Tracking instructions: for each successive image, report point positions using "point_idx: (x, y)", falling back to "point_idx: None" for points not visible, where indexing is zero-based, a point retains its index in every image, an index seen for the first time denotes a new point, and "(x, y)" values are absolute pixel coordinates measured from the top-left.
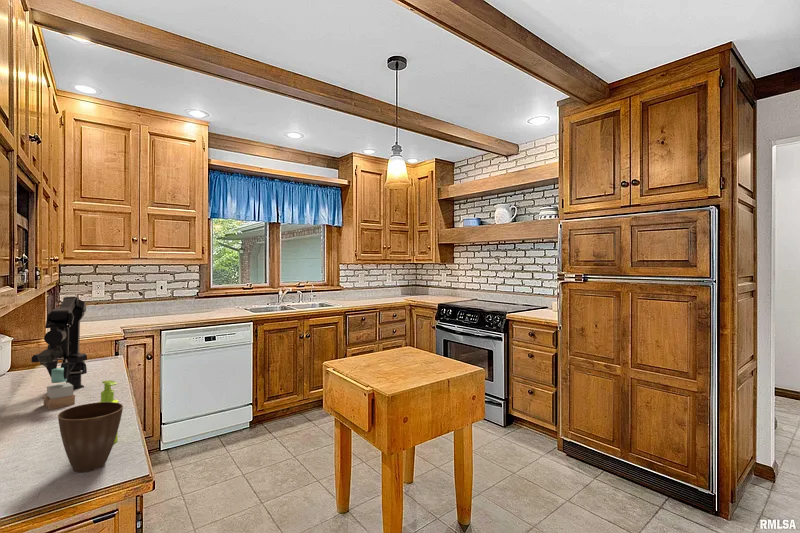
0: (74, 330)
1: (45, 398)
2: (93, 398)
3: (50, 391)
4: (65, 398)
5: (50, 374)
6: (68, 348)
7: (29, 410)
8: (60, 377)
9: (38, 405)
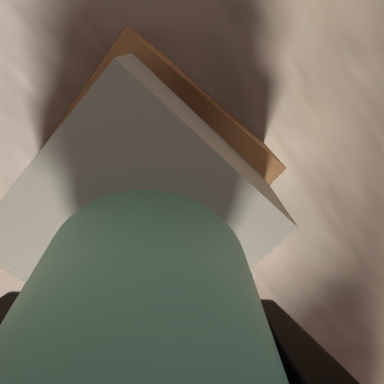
0: None
1: (245, 131)
2: (15, 283)
3: (162, 94)
4: (54, 132)
5: (311, 359)
6: None
7: (293, 5)
8: (36, 276)
9: (299, 140)
